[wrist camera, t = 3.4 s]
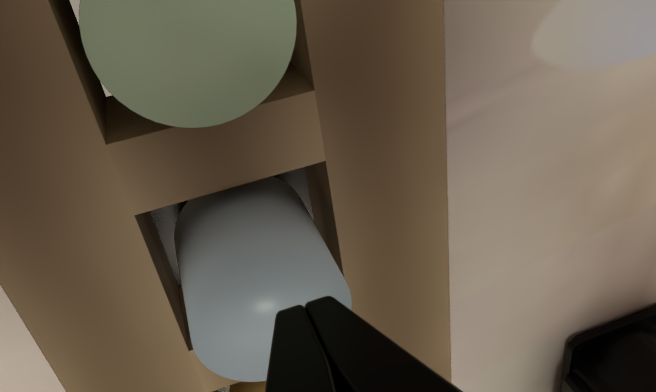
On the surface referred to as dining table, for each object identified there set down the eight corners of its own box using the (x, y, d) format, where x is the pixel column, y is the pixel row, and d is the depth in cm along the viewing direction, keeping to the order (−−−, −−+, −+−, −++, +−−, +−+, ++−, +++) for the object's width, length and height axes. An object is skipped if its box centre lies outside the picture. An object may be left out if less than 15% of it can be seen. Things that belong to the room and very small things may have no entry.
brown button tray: (380, -222, 14) (438, -236, 11) (418, 359, 25) (451, 414, 23) (-178, -136, 11) (-254, -129, 9) (147, 459, 23) (152, 531, 21)
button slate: (295, 156, 16) (341, 233, 13) (315, 262, 19) (359, 350, 15) (156, 196, 16) (169, 287, 13) (194, 300, 18) (214, 401, 15)
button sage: (235, -121, 13) (276, -108, 10) (268, 46, 16) (310, 100, 12) (57, -88, 13) (41, -63, 9) (118, 82, 15) (122, 150, 12)
